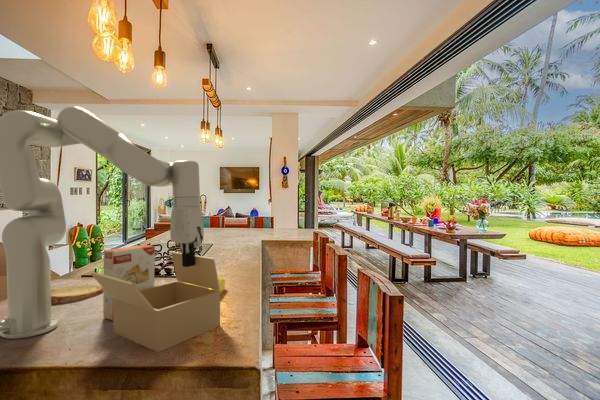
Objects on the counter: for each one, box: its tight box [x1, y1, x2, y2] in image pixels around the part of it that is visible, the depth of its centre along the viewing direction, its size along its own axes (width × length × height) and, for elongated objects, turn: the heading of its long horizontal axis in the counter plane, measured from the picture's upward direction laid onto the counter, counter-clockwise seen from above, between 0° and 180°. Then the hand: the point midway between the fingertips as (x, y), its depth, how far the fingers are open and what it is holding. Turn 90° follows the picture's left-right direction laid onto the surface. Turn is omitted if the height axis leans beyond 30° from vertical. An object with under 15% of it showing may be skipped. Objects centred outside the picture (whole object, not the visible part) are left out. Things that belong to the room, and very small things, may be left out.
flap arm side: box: [89, 271, 156, 312], centre depth 86 cm, size 10×19×1 cm
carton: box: [113, 280, 221, 353], centre depth 97 cm, size 20×20×10 cm
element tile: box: [187, 278, 226, 296], centre depth 131 cm, size 15×15×5 cm
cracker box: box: [102, 244, 156, 322], centre depth 110 cm, size 14×6×21 cm, turn 148°
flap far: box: [170, 251, 220, 291], centre depth 104 cm, size 10×19×1 cm
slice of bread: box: [51, 284, 103, 306], centre depth 126 cm, size 18×18×4 cm
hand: (188, 265), depth 102 cm, fingers closed
